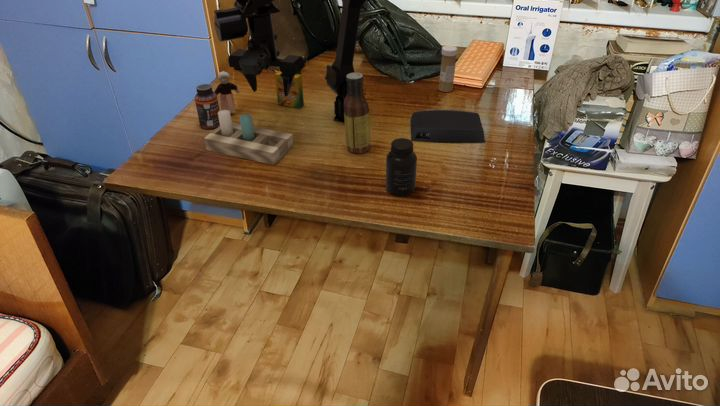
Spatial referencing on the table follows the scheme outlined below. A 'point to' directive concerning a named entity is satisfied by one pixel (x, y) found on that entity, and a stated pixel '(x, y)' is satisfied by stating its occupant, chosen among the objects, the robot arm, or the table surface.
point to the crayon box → (295, 91)
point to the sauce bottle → (356, 115)
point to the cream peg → (225, 123)
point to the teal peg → (247, 127)
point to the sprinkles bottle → (447, 68)
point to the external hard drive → (446, 127)
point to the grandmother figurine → (226, 92)
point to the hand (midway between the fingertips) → (270, 93)
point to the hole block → (251, 144)
